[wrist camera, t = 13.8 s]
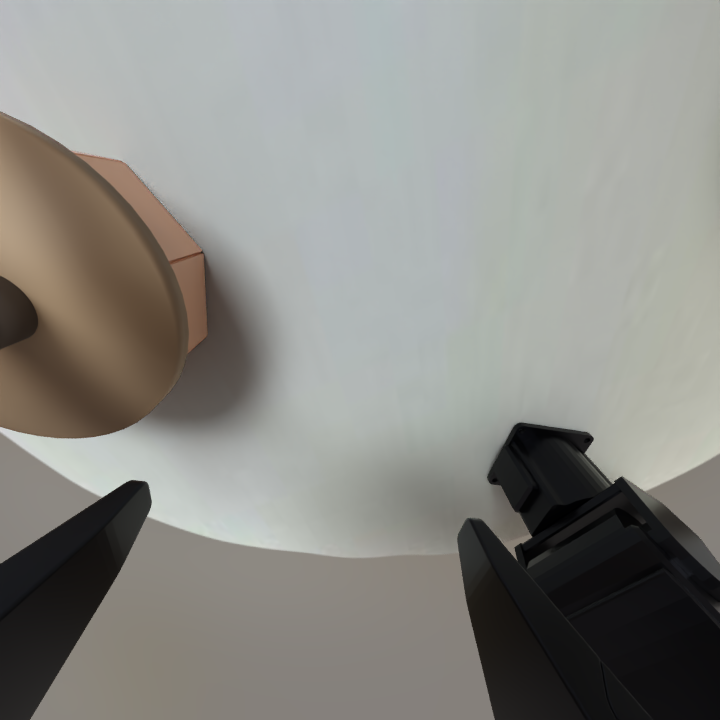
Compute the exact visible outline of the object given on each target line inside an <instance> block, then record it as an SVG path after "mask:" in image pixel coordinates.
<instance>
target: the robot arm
mask: <svg viewBox="0 0 720 720" xmlns="http://www.w3.org/2000/svg"><path fill="white" fill-rule="evenodd" d="M520 429H522V430H520ZM593 440H594V438H593V437H592V436H591V435H590V434H589V433H587V432H581V431H575V430H568V429H561V428H554V427H548V426H541V425H534V424H527V423H518V424H516V425H515V426H514V428H513V430H512V431H511V433H510V435H509V437H508V439H507V441H506V443H505V445H504V446H503V448H502V450H501V452H500V454H499V456H498V458H497V459H496V461H495V463H494V465H493V467H492V469H491V471H490V473H489V474H488V477H487V478H488V480H489V483H491V484H494V485H501V486H502V488H503V490H504V492H505V494H506V496H507V498H508V500H509V502H510V504H511V506H512V507H513V509H514V511H515V512H518V513H520V515H521V517H522V519H523V521H524V522H525V524H526V526H527V528H528V530H529V532H530V534H531V536H532V538H531V539H529V540H528V541H526V542H524V543H523V544H522V543H520V544H519V545H517V546H516V547H515V552H516V556H517V560H518V561H517V560H516V559H515V558H514V557H513V555H512V554H511V553H510V552H509V551H508V550H507V548H506V547H505V546H504V545H503V544H502V543H501V541H500V540H499V539H498V538H497V537H496V535H495V534H494V533H493V532H492V531H491V530H490V528H489V527H488V526H487V525H486V524H485V523H484V522H483V521H482V520H481V519H476V518H468V519H466V521H465V522H464V524H463V526H462V528H461V530H460V532H459V534H458V539H457V540H458V549H459V556H460V562H461V569H462V576H463V582H464V589H465V595H466V601H467V606H468V610H469V615H470V619H471V623H472V627H473V631H474V635H475V640H476V643H477V648H478V652H479V656H480V660H481V664H482V669H483V673H484V677H485V681H486V685H487V689H488V693H489V697H490V702H491V706H492V710H493V714H494V718H495V720H720V564H719V562H718V561H717V560H716V559H715V557H714V556H713V555H712V553H711V552H710V551H709V549H708V548H707V547H706V545H705V544H704V543H703V541H702V540H701V539H700V538H699V537H698V536H697V535H696V534H695V533H694V532H693V531H692V530H691V529H690V528H689V527H688V526H686V525H685V524H684V523H683V522H682V521H681V520H680V519H679V518H678V517H677V516H676V515H674V513H672V512H671V511H670V510H669V509H668V508H667V507H666V506H665V505H664V504H662V503H661V502H660V501H658V500H657V499H655V498H654V497H652V496H651V495H649V494H648V493H646V492H645V491H643V490H642V489H640V488H639V487H637V486H636V485H634V484H633V483H631V482H630V481H628V480H627V479H625V478H624V477H622V476H621V477H620V478H618V479H617V480H615V481H614V482H615V483H614V484H612V483H611V482H610V481H609V480H608V478H607V477H606V476H605V475H604V474H603V473H602V472H601V471H600V470H599V469H598V467H597V466H596V465H595V464H594V463H593V462H592V461H591V460H590V459H589V458H588V457H587V455H586V454H585V452H586V450H587V449H588V447H589V446H590V445H591V443H592V442H593ZM151 504H152V500H151V495H150V490H149V485H148V483H147V482H145V481H136V480H131V481H128V482H126V483H125V484H123V485H121V486H120V487H118V488H117V489H115V490H114V491H112V492H111V493H109V494H108V495H106V496H104V497H103V498H101V499H100V500H98V501H97V502H95V503H94V504H92V505H91V506H89V507H88V508H86V509H84V510H83V511H81V512H80V513H78V514H77V515H75V516H74V517H72V518H70V519H69V520H67V521H66V522H64V523H63V524H61V525H60V526H58V527H57V528H55V529H53V530H52V531H50V532H49V533H47V534H46V535H44V536H43V537H41V538H40V539H38V540H36V541H35V542H34V543H32V544H31V545H29V546H27V547H26V548H24V549H23V550H21V551H20V552H18V553H16V554H15V555H13V556H12V557H10V558H9V559H7V560H6V561H4V562H3V563H1V564H0V720H30V719H31V717H32V716H33V714H34V712H35V710H36V709H37V707H38V706H39V704H40V702H41V700H42V699H43V697H44V696H45V694H46V692H47V691H48V689H49V687H50V686H51V684H52V683H53V681H54V679H55V677H56V676H57V674H58V673H59V671H60V669H61V668H62V666H63V664H64V663H65V661H66V660H67V658H68V656H69V655H70V653H71V651H72V650H73V648H74V646H75V645H76V643H77V641H78V640H79V638H80V636H81V635H82V633H83V632H84V630H85V628H86V627H87V625H88V623H89V621H90V620H91V618H92V617H93V615H94V613H95V612H96V610H97V608H98V607H99V605H100V604H101V602H102V600H103V599H104V597H105V595H106V594H107V592H108V590H109V589H110V587H111V585H112V584H113V582H114V580H115V579H116V577H117V575H118V573H119V572H120V570H121V567H122V566H123V564H124V562H125V560H126V558H127V556H128V554H129V552H130V550H131V548H132V545H133V544H134V541H135V540H136V537H137V535H138V533H139V531H140V529H141V527H142V525H143V523H144V521H145V519H146V517H147V515H148V513H149V511H150V508H151Z"/></svg>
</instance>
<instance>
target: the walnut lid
mask: <svg viewBox="0 0 720 720" xmlns="http://www.w3.org/2000/svg"><path fill="white" fill-rule="evenodd" d="M188 341H189V328H188V318H187V311H186V307H185V303H184V299H183V294H182V292H181V289H180V286H179V284H178V281H177V278H176V275H175V273H174V271H173V269H172V267H171V265H170V263H169V261H168V259H167V257H166V255H165V253H164V251H163V249H162V248H161V246H160V245H159V243H158V242H157V240H156V238H155V237H154V235H153V234H152V232H151V231H150V229H149V228H148V226H147V225H146V224H145V223H144V221H143V220H142V219H141V218H140V216H139V215H138V214H137V212H136V211H135V210H134V209H133V207H132V206H131V205H130V204H129V203H128V202H127V201H126V200H125V199H124V198H123V196H122V195H121V194H120V193H119V192H118V191H117V190H116V189H115V188H114V187H113V186H112V185H111V184H110V183H109V182H108V181H107V180H106V179H105V178H103V177H102V176H101V175H100V174H99V173H98V172H97V171H95V170H94V169H93V168H92V167H91V166H90V165H89V164H88V163H86V162H85V161H84V160H82V159H81V158H80V157H78V156H77V155H76V154H74V153H73V152H71V151H70V150H69V149H67V148H66V147H65V146H63V145H62V144H60V143H59V142H57V141H56V140H54V139H52V138H51V137H49V136H47V135H46V134H44V133H42V132H41V131H39V130H37V129H36V128H34V127H32V126H31V125H28V124H26V123H24V122H22V121H20V120H18V119H16V118H13V117H11V116H9V115H7V114H5V113H3V112H0V427H3V428H6V429H10V430H14V431H17V432H22V433H27V434H32V435H37V436H44V437H53V438H88V437H96V436H101V435H106V434H110V433H113V432H116V431H119V430H122V429H125V428H127V427H129V426H131V425H133V424H135V423H137V422H138V421H139V420H141V419H142V418H144V417H145V416H146V415H148V414H149V413H150V412H151V411H152V410H153V409H154V408H155V407H156V406H157V405H158V404H159V403H160V402H161V401H162V400H163V399H164V398H165V396H166V395H167V394H168V393H169V392H170V391H171V390H172V389H173V387H174V385H175V384H176V382H177V381H178V379H179V377H180V375H181V373H182V370H183V368H184V365H185V361H186V357H187V352H188Z"/></svg>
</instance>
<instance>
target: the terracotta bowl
mask: <svg viewBox="0 0 720 720" xmlns="http://www.w3.org/2000/svg"><path fill="white" fill-rule="evenodd" d="M70 151H71V150H70ZM71 152H73V153H74V154H76V155H77V156H78V157H80V158H81V159H82V160H84V161H85V162H86V163H88V164H89V165H90V166H91V167H92V168H93V169H94V170H95V171H97V172H98V173H99V174H100V175H101V176H102V177H103V178H105V179H106V180H107V181H108V182H109V183H110V184H111V185H112V186H113V187H114V188H115V189H116V190H117V191H118V192H119V193H120V194H121V195H122V196H123V198H124V199H125V200H126V201H127V202H128V203H129V204H130V205H131V206H132V207H133V209H134V210H135V211H136V212H137V214H138V215H139V216H140V218H141V219H142V220H143V221H144V223H145V224H146V225H147V226H148V228H149V229H150V231H151V232H152V234H153V235H154V237H155V238H156V240H157V242H158V243H159V245H160V246H161V248H162V249H163V251H164V253H165V255H166V257H167V259H168V261H169V263H170V265H171V267H172V269H173V271H174V273H175V275H176V278H177V281H178V284H179V286H180V289H181V292H182V294H183V299H184V303H185V307H186V311H187V318H188V328H189V341H188V352H187V354H188V353H189V352H190V351H191V350H192V349H194V348H195V347H196V346H197V345H198V344H199V343H200V342H201V341H203V340H204V339H205V338H206V337H207V335H208V330H207V310H206V289H205V269H204V254H203V253H200V252H202V250H201V248H200V247H199V246H198V245H197V244H196V243H195V242H194V241H193V239H192V238H191V237H190V236H189V235H188V234H187V233H186V231H185V230H184V229H183V228H182V227H181V226H180V225H179V224H178V222H177V221H176V220H175V219H174V218H173V217H172V216H171V215H170V213H169V212H168V211H167V210H166V209H165V208H164V207H163V205H162V204H161V203H160V202H159V201H158V200H157V199H156V198H155V196H154V195H153V194H152V193H151V192H150V191H149V190H148V188H147V187H146V186H145V185H144V184H143V183H142V182H141V181H140V179H139V178H138V177H137V176H136V175H135V174H134V173H133V171H132V170H131V169H130V168H129V167H128V166H127V165H126V164H125V163H122V161H119V160H114V159H110V158H105V157H100V156H95V155H90V154H85V153H81V152H76V151H71Z"/></svg>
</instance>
